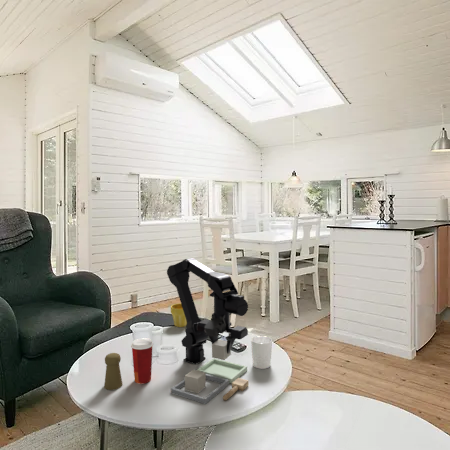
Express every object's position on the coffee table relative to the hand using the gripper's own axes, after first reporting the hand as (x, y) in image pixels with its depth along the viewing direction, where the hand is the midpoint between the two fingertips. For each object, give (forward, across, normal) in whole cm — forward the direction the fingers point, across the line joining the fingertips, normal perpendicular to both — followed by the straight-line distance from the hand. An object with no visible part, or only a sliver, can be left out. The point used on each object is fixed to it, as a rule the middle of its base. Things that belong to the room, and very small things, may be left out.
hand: (221, 351), depth 141 cm
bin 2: (+8, 0, 0) cm, 8 cm away
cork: (+8, -27, -27) cm, 39 cm away
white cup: (+8, +10, +13) cm, 18 cm away
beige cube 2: (+8, -2, -15) cm, 17 cm away
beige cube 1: (+2, 0, 0) cm, 2 cm away
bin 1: (+8, 0, -14) cm, 16 cm away
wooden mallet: (+8, +11, -10) cm, 17 cm away
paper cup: (+8, -21, -19) cm, 30 cm away
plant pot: (+8, -45, +35) cm, 57 cm away
